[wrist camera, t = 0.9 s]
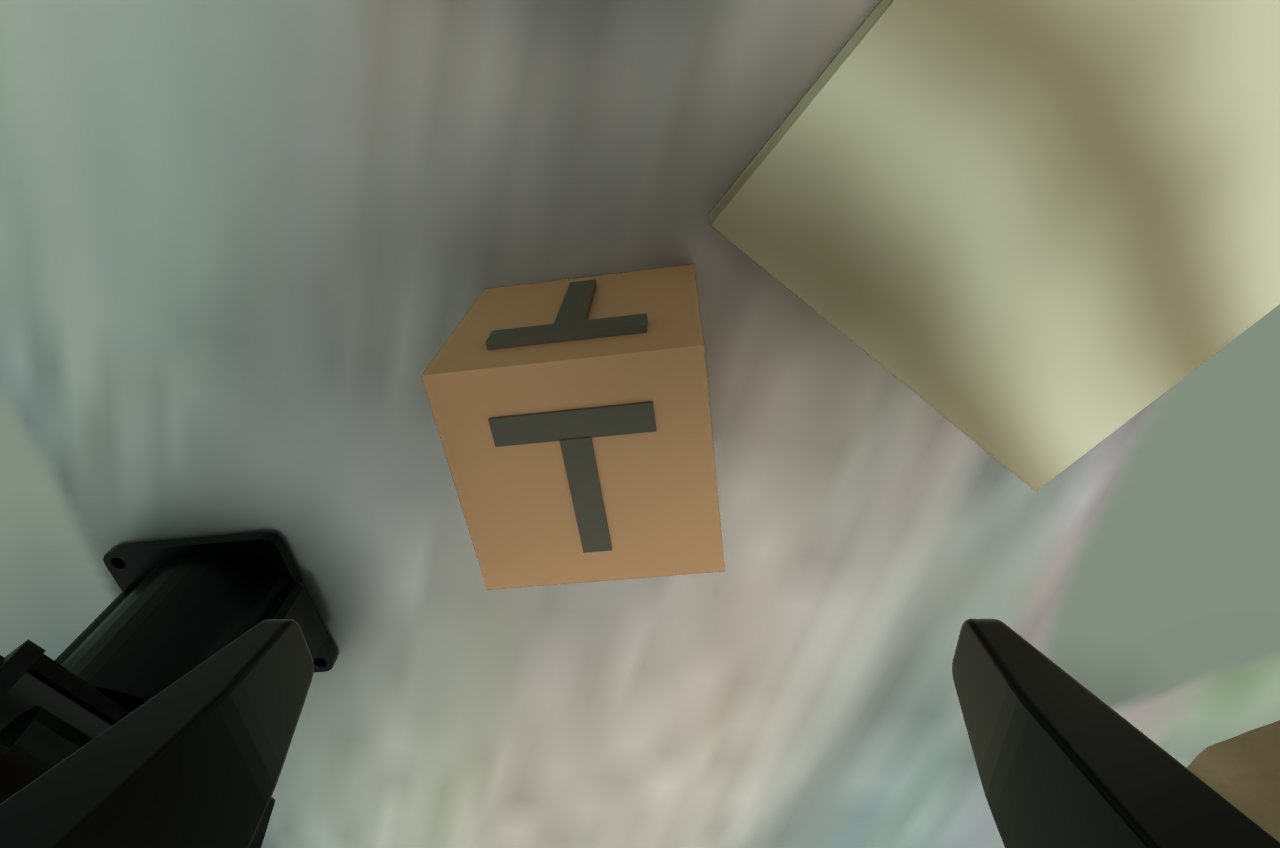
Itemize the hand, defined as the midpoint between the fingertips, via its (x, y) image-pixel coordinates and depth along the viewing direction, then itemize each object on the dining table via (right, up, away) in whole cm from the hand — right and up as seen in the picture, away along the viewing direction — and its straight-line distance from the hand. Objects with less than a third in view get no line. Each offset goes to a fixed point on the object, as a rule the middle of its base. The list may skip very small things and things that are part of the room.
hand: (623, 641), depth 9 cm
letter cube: (-1, +5, +12) cm, 13 cm away
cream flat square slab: (+11, +9, +8) cm, 17 cm away
